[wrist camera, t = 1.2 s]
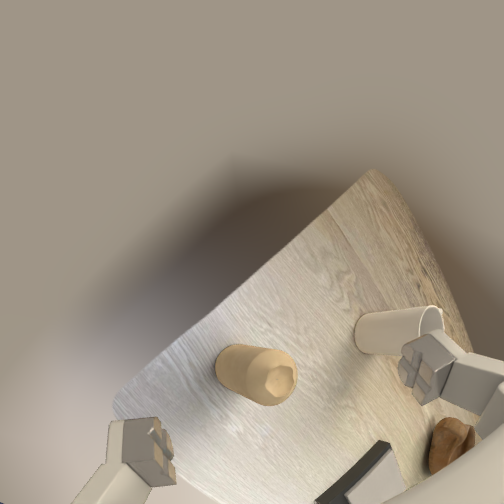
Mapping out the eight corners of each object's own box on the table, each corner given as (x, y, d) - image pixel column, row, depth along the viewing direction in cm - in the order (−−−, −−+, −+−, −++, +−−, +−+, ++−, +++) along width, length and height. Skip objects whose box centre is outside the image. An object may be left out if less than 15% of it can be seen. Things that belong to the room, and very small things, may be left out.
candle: (204, 364, 33) (240, 380, 24) (239, 334, 36) (284, 338, 27) (233, 398, 34) (277, 421, 25) (266, 368, 36) (316, 379, 28)
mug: (361, 363, 43) (426, 367, 32) (346, 325, 43) (413, 322, 32) (396, 329, 48) (456, 326, 37) (384, 294, 48) (445, 285, 37)
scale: (342, 537, 35) (354, 544, 32) (315, 500, 35) (328, 508, 32) (396, 484, 42) (408, 488, 39) (379, 439, 42) (393, 443, 39)
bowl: (407, 465, 42) (455, 462, 35) (424, 407, 52) (466, 399, 45) (432, 489, 45) (471, 486, 38) (446, 439, 54) (481, 433, 47)
